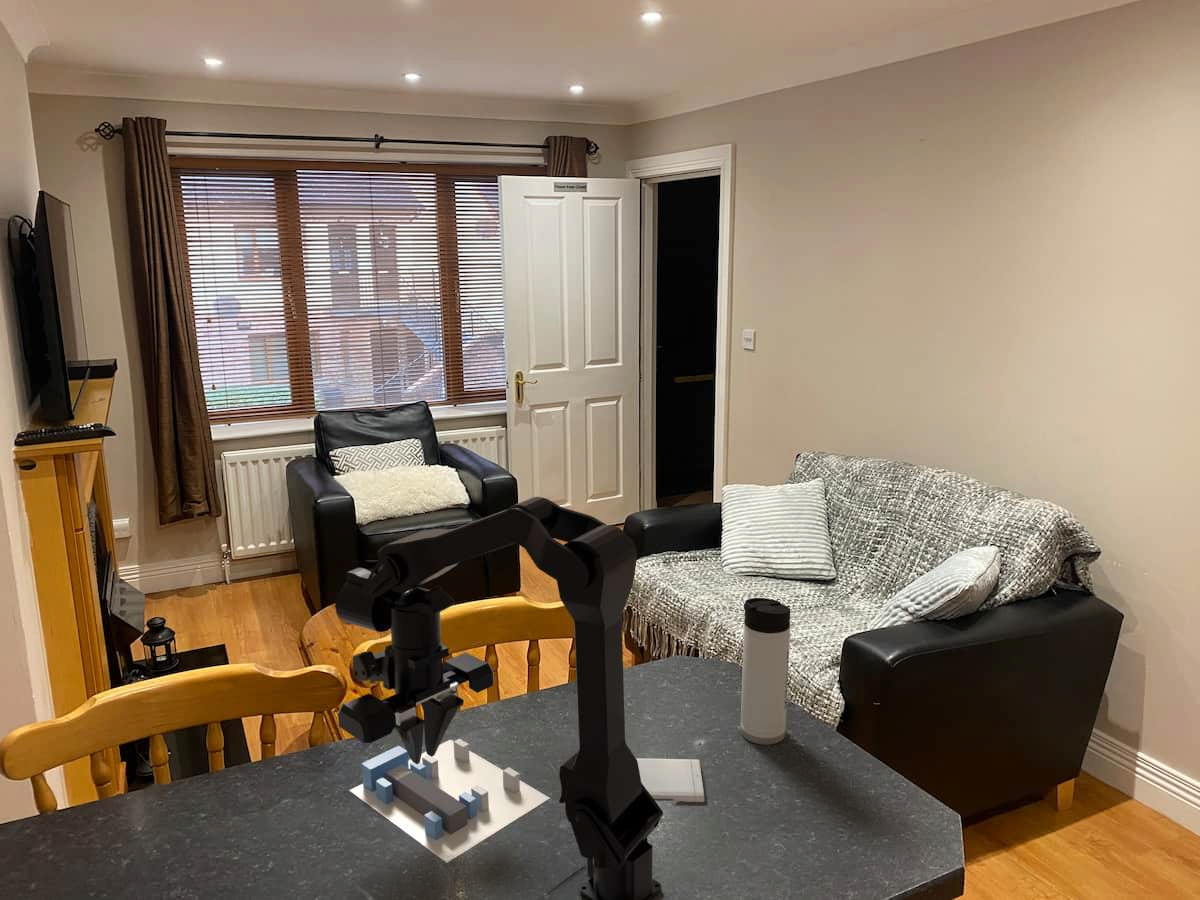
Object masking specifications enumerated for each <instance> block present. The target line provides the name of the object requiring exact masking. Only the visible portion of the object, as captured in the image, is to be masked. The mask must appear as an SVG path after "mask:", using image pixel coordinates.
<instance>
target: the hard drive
mask: <svg viewBox="0 0 1200 900" xmlns="http://www.w3.org/2000/svg"><path fill="white" fill-rule="evenodd" d="M635 758H636V759H637V762H638V767H639V772H640V778H641V783H642V784H643V785H644V787H645V788H646V789H647V791H648V792H649V793H650V795H651V796H652V797H653V799H654V800H655V799H660V800H662V799H663V800H665V799H666V800H669V799H670V800H671V801H674V802H675V803H678V802H679V803H681V802H680V801H684V802H683V803H686V802H687V803H704V802H705V793H704V792H705V791H704V784H703V778H702V772H701V771H702V770H701V765H700V764H701V762H700V759H695V758H694V759H691V758H689V759H687V758H685V759H681V758H680V759H679V758H637V757H635ZM674 802H673V803H674Z"/></svg>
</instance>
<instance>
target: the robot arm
mask: <svg viewBox="0 0 1200 900" xmlns="http://www.w3.org/2000/svg"><path fill="white" fill-rule="evenodd" d="M558 540H559V541H561V542H566V543H564V544H562V543H561V542H559V541H558ZM515 544H517V545H519V546H520V547H522V548H523V549H524V550H525V552H527V554H528V556H529V557H530V559H531V560H532V562H533V563H534V565H535V567H536V568H538V570H540V571H541V572H543V573H544V574H546V575H548V576H549V577H550V578H552V579H553V580H555V581H556V584H557V589H558V590H557V591H558V595H559V599H560V601H561V602H562V603H561V604H563V605H564V607H565V609H566V610H567V612H568V613H569V615H570V617H571V618H572V621H573V624H574V626H573V627H574V628H573V630H574V649H575V650H574V651H575V653H574V654H575V673H576V674H575V676H576V677H575V679H576V702H577V705H576V706H577V724H578V727H577V728H578V730H577V731H578V749H577V751H576V752H575V753H574V754H573V755H572V756H570V757H569V758H568V759H567V760H566V761H565V762H564V763H562V765H560V767H559V774H558V775H559V781H560V787H561V791H560V793H561V794H560V797H559V800H558V802H559V803H560V804H564V811H565V816H566V818H567V821H568V822H569V823H570V825H571V829H572V831H573V835H574V837H575V840H576V845H577V847H578V850H579V853H580V856H582V857H583V858H586V861H587V863H586V865H587V870H586V871H587V877H588V878H589V879H588V880H587V881H585V882H584V883H583V884H581V885H580V886H579V894H581V895H582V896H583V897H585V898H587V899H588V900H652V899H653V898H654V897H655V896H656V895H658V894H659V893H660V892H661V891H662V884H661V883H660V882H659V881H657V880H655V879H653V847H654V846H653V844H651V843H649V842H648V841H649V840H648V837H649V835H651V833H652V832H653V831H654V830H655V829H656V828H657V827H658V826H659V824H660V822H661V820H662V818H663V814H664V811H663V809H662V808H661V806H660V805H659V804H658V803H657V801H656V800H655V799H653V797H652V796H651V795H650V793H649V792H648V791H647V789H646V788H645V787H644V785H643V784H642V783H641V778H640V772H639V767H638V762H637V759H636V758H637V757H636V756H635V755H634V753H633V752H632V750H631V749H630V747H629V746H628V745H627V742H626V727H625V726H626V722H625V718H626V717H625V694H624V693H625V691H624V689H625V687H624V685H625V684H624V649H623V648H624V646H623V613H624V610H625V607H626V605H627V602H628V600H629V598H630V594H631V591H632V588H633V586H634V581H635V573H636V567H637V559H638V551H637V547H636V544H635V542H634V540H633V539H632V538H631V537H630V536H628V534H627V533H626V532H625V531H624V530H623V529H622V528H620V527H618V526H615V525H613V524H606V523H605V522H603V521H601V520H600V519H597V518H596V517H595V516H592V515H589V514H586V513H582V512H580V511H575V510H572V509H569V508H566V507H563V506H560V505H558V504H557V503H555V502H554V501H551V500H550V499H549V498H545V497H543V496H542V497H541V496H533V497H530V498H527V499H526V500H523V501H520V502H518V503H515V504H513V505H511V506H510V507H509V508H507V509H504V510H502V511H499V512H497V513H493V514H491V515H489V516H486V517H483V518H480V519H477V520H475V521H472V522H469V523H467V524H464V525H462V526H459V527H457V528H456V527H455V528H450V529H446V528H434V529H426V530H420V531H418V532H415V533H413V534H410V535H408V536H405V537H402V538H400V539H397V540H395V541H391V542H390V543H387V544H384V545H383V546H382V547H380V549H379V550H378V552H377V556H378V557H377V563H376V564H375V566H374V567H373V569H372V570H371V571H370V570H368V569H366V568H363V567H356V568H355V569H352V570H349V571H347V572H346V582H345V583H344V584H343V585H341V588H340V590H339V592H338V595H337V598H336V601H335V606H334V607H335V612H336V615H337V617H338V618H339V619H340V620H341V621H342V622H344V623H348V624H351V625H355V626H358V627H360V628H365V629H368V630H371V631H374V632H377V633H383V632H387V631H389V630H390V636H391V638H390V639H391V644H390V645H387V646H385V649H383V650H380V651H377V652H375V653H373V651H363V652H360V653H357V654H355V655H352V670H353V675H354V678H355V679H356V680H357V681H358V682H366V681H369V684H374V683H376V682H382V687H383V688H384V689H386V690H387V691H390V690H394V694H393V695H390V696H389V697H386V698H384V699H382V700H381V699H379V698H378V697H376V696H374V695H373V694H371V693H365V694H364V695H362V696H359V697H357V698H354V699H352V700H349V701H348V702H345V703H343V704H342V705H341V706H340V707H339V709H338V713H337V717H338V719H337V720H338V727H339V728H340V729H342V730H344V731H345V732H347V733H348V734H350V735H351V736H353V737H354V738H355V739H356V740H358V741H360V742H362V743H363V744H371V743H373V742H375V741H378V740H381V739H382V738H385V737H386V736H388V735H390V734H392V733H393V731H394V729H395V730H396V732H397V734H398V735H399V737H400V739H401V741H402V744H403V746H404V747H405V748H404V749H405V750H407V752H408V757H410V760H412V761H413V762H414V763H415V764H419V763H420V759H421V755H422V753H423V742H424V745H425V752H427V754H428V755H429V756H431V757H432V756H434V755H435V753H436V751H437V749H438V747H439V745H440V744H441V742H442V740H443V738H444V736H445V733H446V732H447V730H448V727H449V726H450V724H451V722H452V721H453V719H454V717H455V715H456V713H457V712H458V710H459V708H460V707H463V706H464V702H465V700H464V699H463V698H461V697H460V696H458V695H457V693H458V692H457V687H459V685H462V684H464V683H466V682H468V689H470V690H471V691H473V692H474V693H477V694H478V693H481V692H482V691H484V690H486V689H489V688H491V687H493V686H494V683H495V679H494V678H495V677H494V669H493V667H492V666H491V664H490V663H489V662H487V661H485V660H483V659H480V658H478V657H476V656H475V655H472V654H470V653H468V652H464V653H461V654H459V655H457V656H454V657H452V658H450V659H447V660H445V661H443V659H444V658H447V657H449V655H450V652H449V651H450V650H449V647H447V646H445V645H444V644H442V642H443V641H442V628H441V627H442V625H441V612H443V611H445V610H447V609H449V608H451V607H453V606H454V605H455V600H454V599H453V598H452V597H451V596H450V594H448V593H447V592H445V591H444V590H443V588H442V586H439V585H438V586H435V587H433V588H432V589H427V588H423V587H418V586H421V585H423V584H425V583H428V582H429V581H431V580H433V579H436V578H438V577H440V576H442V575H443V574H445V573H447V572H448V571H450V570H452V569H453V568H454V567H456V566H457V565H458V564H460V563H463V562H465V561H468V560H471V559H474V558H477V557H480V556H483V555H486V554H489V553H491V552H496V551H499V550H501V549H503V548H507V547H510V546H513V545H515ZM419 704H420V706H421V707H422V712H423V719H422V718H420V717H419V716H417V706H418V705H419ZM423 740H424V741H423Z"/></svg>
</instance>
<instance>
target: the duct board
mask: <svg viewBox="0 0 1200 900" xmlns="http://www.w3.org/2000/svg"><path fill="white" fill-rule="evenodd" d="M401 764H403V765H404V766H406V767H408V768H409V769H411V770H412V771H414V772H415V773H417V774H418V775H420V776H421V777H423V778H424V779H426V780H427V781H429V782H431V783H432V784H434V785H435V786H437V787H438V788H440V789H441V790H443V791H444V792H446V793H447V794H449V795H450V796H452V797H454V798H455V799H457V800H458V801H460V802H461V803H463V804H464V805H466V806H467V822H468V825H466V826H465V827H463V828H461V829H460V830H458V831H456V832H455V833H453V834H451V835H450V834H449V833H447V832H446V831H445V830H443V829H442V818H441V817H439V816H438V815H436V814H435V813H433V812H432V811H430V812H429V813H427V814H425V815H424V816H423V815H422V814H420V813H419V812H417V811H416V810H415V809H413V808H412V807H410V806H409V805H407V804H406V803H405V802H403V801H402V800H400V799H399V798H397V797H396V796H395V795H393V793H392V784H391V783H390V782H389V781H387V780H386V772H388V771H390V770H392V769H394V768H395V767H397V766H399V765H401ZM361 774H362V777H361V778H362V784H359V785H357V786H355V787H353V788H351V789H349V790H348V791H349V792H350V793H352V794H354V795H355V796H356V797H357V798H359V799H360V800H361V801H363V802H364V803H365V804H367V805H368V806H369V807H371V808H372V809H373V810H375V812H378V814H380V815H381V816H383V817H384V818H386V819H387V820H388V821H389V822H391V823H392V824H394V825H395V827H398V828H399V829H401V830H402V831H403V832H404V833H405V834H407V835H408V836H410V837H411V838H413V839H414V840H415V841H416V842H418V843H419V844H420V845H422V846H423V847H424V848H426V849H427V850H429V851H430V852H431V853H433V854H434V855H435V856H437V857H438V858H440V859H441V860H442V861H443V862H445V863H446V864H448V863H449V862H451V861H452V860H455V858H458V857H459V856H461V855H462V854H464V853H466V852H468V850H470V849H472V848H473V847H475V846H477V845H478V844H480V843H482V842H483V841H485V840H486V839H487V838H489V837H491V836H493V835H494V834H496V833H497V832H498V831H500V830H502V829H503V828H505V827H507V826H508V825H510V824H511V823H512V824H513V822H515V821H516V820H518V819H520V818H521V817H523V816H525V815H526V814H528V813H529V812H531V811H532V810H534V809H536V808H537V807H538V806H540V805H542V804H543V803H545V802H547V801H549V800H550V799H551V797H549V796H548V795H546V794H544V793H542V792H541V791H540V790H539V791H538V789H535V788H533V787H532V786H530V785H528V784H527V783H525V782H524V781H523V780H521V778H520V773H519V772H518V771H517V770H514V769H513V768H511V767H507V768H505V769H501V768H500V767H498V766H496V765H495V764H494V763H491V762H489V761H488V760H486V759H484V758H482V757H481V756H480V755H478V754H476V753H474V752H473V751H472V750H470V744H469V743H468V742H466V741H465V740H463V739H461V738H458V739H456V740H452V739H448V740H446V741H444V742H443V743H440V745H439V747H438V749H437V751H436V753H435V755H434V756H432V757H431V756H429V755H428V754H427V752H426V751H424V752H422V755H421V759H420V763H419V764H415V763H414V762H413V761H412V760H411V759H409V754H408V752H407V750H406V748H404V747H402V746H400V745H397V746H395V747H393V748H391V749H389V750H387V751H384V752H382V753H380V754H378V755H376V756H374V757H372V758H370V759H368V760H366V761H364V762H362V763H361Z"/></svg>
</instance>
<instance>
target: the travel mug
mask: <svg viewBox="0 0 1200 900" xmlns="http://www.w3.org/2000/svg"><path fill="white" fill-rule="evenodd" d="M743 610H744V620H743V640H742V641H743V645H742V647H743V648H742V672H741V674H742V675H741V676H742V677H741V700H740V701H741V702H740V703H741V704H740V705H741V706H740V734H741V735H742V737H743V739H744V738H745V740H747V741H749V742H752V743H754V744H757V745H763V746H764V745H765V746H766V745H767V746H769V745H770V746H771V745H775V744H777V743H780V742H782V741H783V740H784V739H785V737H786V729H787V728H786V725H787V708H788V707H787V706H788V705H787V700H788V686H789V685H788V684H789V683H788V682H789V681H788V680H789V663H790V662H789V661H790V660H789V659H790V641H791V638H790V637H791V636H790V635H791V608H790V607H789V606H787V605H785V604H783V603H781V601H778V600H776V599H771V598H765V597H751V598H748V599H746V600H745V603H744V604H743Z"/></svg>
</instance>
